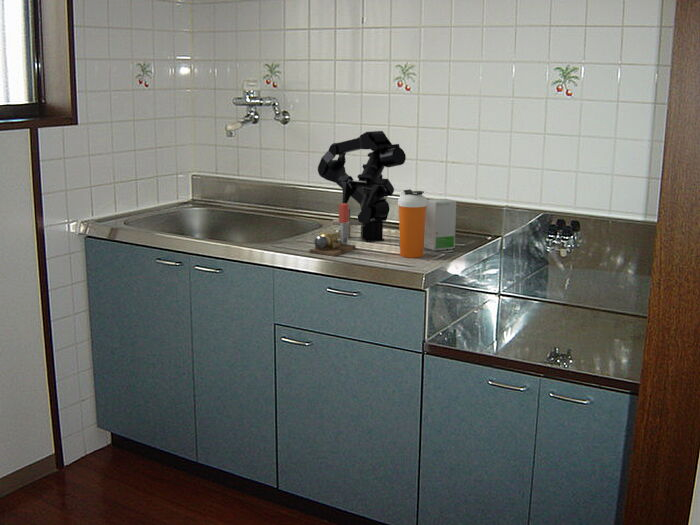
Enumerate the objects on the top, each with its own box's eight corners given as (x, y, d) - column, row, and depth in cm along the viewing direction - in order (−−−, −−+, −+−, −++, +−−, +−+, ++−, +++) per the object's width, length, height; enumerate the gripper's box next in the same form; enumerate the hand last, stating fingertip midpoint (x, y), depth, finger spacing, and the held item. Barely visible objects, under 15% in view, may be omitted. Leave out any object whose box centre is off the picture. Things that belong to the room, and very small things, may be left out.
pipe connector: (362, 240, 281) (362, 210, 278) (332, 240, 281) (332, 210, 278) (362, 234, 290) (362, 205, 288) (333, 234, 290) (333, 205, 288)
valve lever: (343, 244, 264) (343, 203, 261) (348, 244, 263) (348, 203, 260) (338, 245, 261) (338, 204, 258) (343, 246, 260) (343, 205, 258)
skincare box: (433, 251, 264) (435, 202, 261) (422, 247, 270) (423, 199, 266) (456, 248, 268) (457, 200, 264) (444, 245, 274) (445, 197, 270)
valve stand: (331, 245, 272) (331, 227, 271) (355, 248, 268) (355, 230, 267) (309, 253, 261) (309, 234, 260) (334, 256, 257) (334, 237, 256)
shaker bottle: (417, 259, 252) (419, 193, 248) (391, 256, 257) (392, 191, 252) (431, 254, 260) (432, 190, 255) (405, 251, 264) (406, 187, 260)
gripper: (408, 184, 273) (390, 223, 267) (360, 181, 284) (342, 218, 278) (395, 163, 265) (376, 203, 259) (346, 160, 276) (327, 198, 270)
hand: (355, 206), depth 267 cm, fingers open, 9 cm apart
